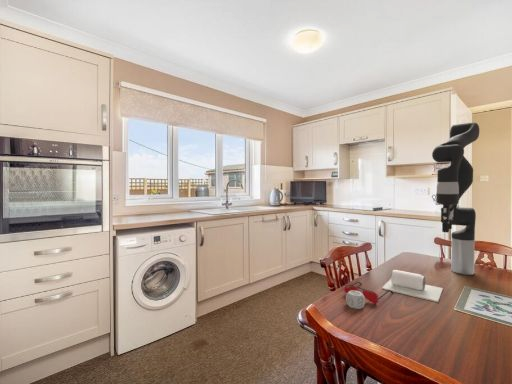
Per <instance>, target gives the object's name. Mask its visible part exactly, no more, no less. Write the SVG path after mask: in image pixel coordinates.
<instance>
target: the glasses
mask: <svg viewBox="0 0 512 384" xmlns="http://www.w3.org/2000/svg"><path fill="white" fill-rule="evenodd" d="M357 284H359V285H361V286H362V283H361V282H360V281H357V282H354V283H353V284H352V285H351V284H346V286H345V287H344V289H343V291H344V293H346V294H347V293H348V292H349V291H352V290H355V291H359V292H361V291H360V290H362V294H363V295H364V297H365V300H368V301H369V302H371V303H372V304H373V305H377V304H378V303H379V300H380V299H382V298H383V297H384V296H385V295H387V294H388V293H389V292H390V293H391V294H394V292H392V291H391V290H386V292H384V293H383V294H382V295H380V296H378V294H377V293H376V292H374V291H372V290H368V289H365V288H362V287H358V286H355V285H357Z"/></svg>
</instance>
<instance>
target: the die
mask: <svg viewBox="0 0 512 384" xmlns="http://www.w3.org/2000/svg"><path fill="white" fill-rule="evenodd" d="M359 291H360V290H359ZM359 291H355V290H352V291H349V292H348V293H346V295H345V302H346V304H347V305H348V307H350V309H355V310H360V309H363V308H364V307H365V305H366V298H365V297H364V295H363V292H361V291H360V292H359Z"/></svg>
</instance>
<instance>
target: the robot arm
mask: <svg viewBox="0 0 512 384" xmlns="http://www.w3.org/2000/svg"><path fill="white" fill-rule="evenodd" d="M479 137H480V126H479V124H478V123H477V122H463V123H457V124H452V125H451V126H450V130H449V139H448V140H447V141H446V142H443V143H441V144H439V145H437V146H435V148H434V149H433V150H432V153H431V156H432V157H431V158H432V159H433V161H435V162H437V163H450V165H449V166H446V167H442V168H439V169H438V170H437V173H436V174H437V179H436V180H437V185H436V204H438V205H442V207H441V208H440V222H441V225H442V227H441V232H443V233H446V234H447V233H449V232H450V230H452V229H453V226H465V227H464V228H463V229H460V230H457V231H453V232H452V233H451V234H450V235H451V237H450V238H451V240H450V241H451V246H450V248H451V250H450V251H451V254H450V255H451V256H450V257H451V259H450V261H451V263H450V265H451V266H450V267H451V269H450V271H451V272H453V273H456V274H460V275H464V276H465V275H466V276H472V275H475V251H476V250H475V248H476V247H475V245H476V244H475V240H476V239H475V238H476V237H475V235H476V234H475V232H476V229H475V228H476V220H477V219H476V218H477V216H476V215H477V213H476V210H475V209H474V208H472V207H461V206H460V207H458V204H459V203H460V199H461V198H462V197H463V195H464V194H465V193H466V192H467V190H468V189H469V188H470V187H471V185H472V184H473V183H474V182H473V181H474V168H473V166H472V164H471V163H470V162H469V160H468V159H467V158H466V156H464V155H465V150H464V149H465V148H466V147H467V146H469V145H470V144H473V143H474V142H475V141H476V140H477V139H479Z"/></svg>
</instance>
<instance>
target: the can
mask: <svg viewBox="0 0 512 384" xmlns="http://www.w3.org/2000/svg"><path fill="white" fill-rule="evenodd" d="M390 276H391V277H390V279H391V282H392V283H393V284H394V285H399V286H403V287H407V288H412V289H416V290H424V289H425V285H426V276H425V275H424V276H423V275H422V274H420V273H414V272H409V271H403V270H399V269H398V270H397V269H393V270H392V271H391V275H390Z"/></svg>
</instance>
